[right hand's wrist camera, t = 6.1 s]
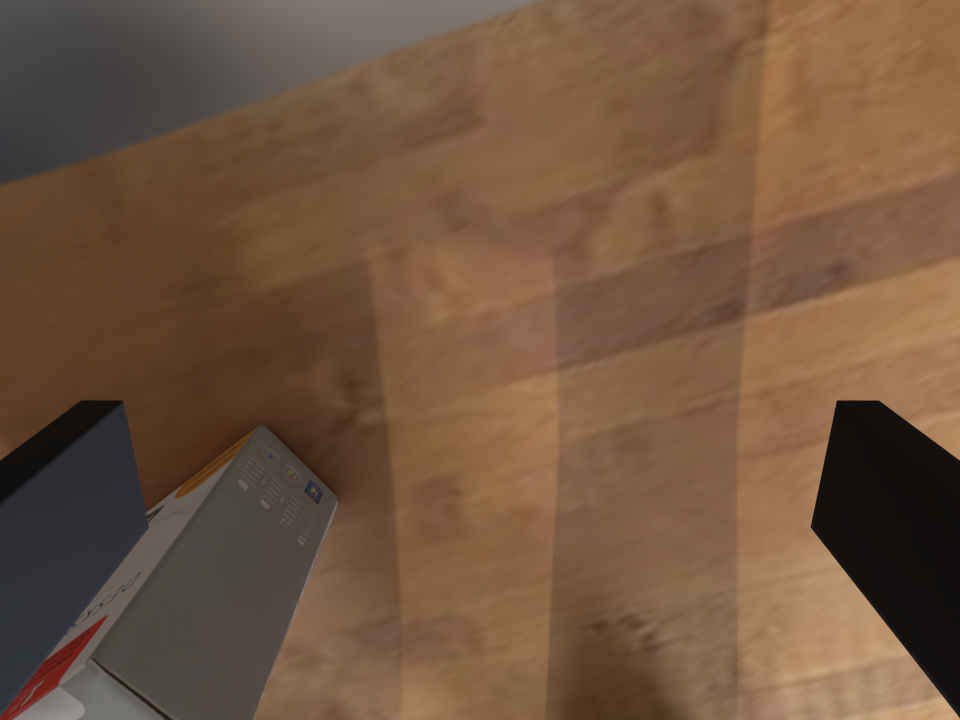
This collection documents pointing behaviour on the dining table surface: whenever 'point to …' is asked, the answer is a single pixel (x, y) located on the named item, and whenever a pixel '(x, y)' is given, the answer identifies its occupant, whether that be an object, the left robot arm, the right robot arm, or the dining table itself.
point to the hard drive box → (194, 598)
